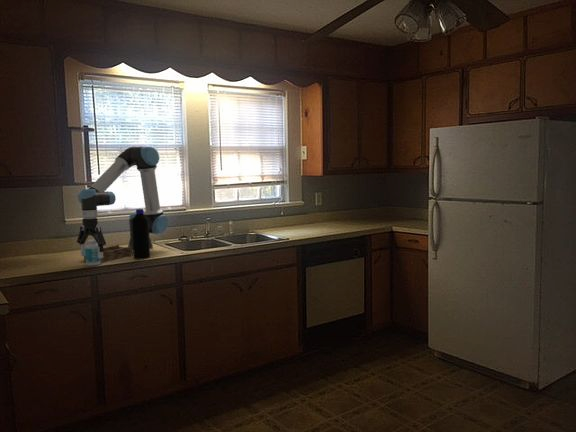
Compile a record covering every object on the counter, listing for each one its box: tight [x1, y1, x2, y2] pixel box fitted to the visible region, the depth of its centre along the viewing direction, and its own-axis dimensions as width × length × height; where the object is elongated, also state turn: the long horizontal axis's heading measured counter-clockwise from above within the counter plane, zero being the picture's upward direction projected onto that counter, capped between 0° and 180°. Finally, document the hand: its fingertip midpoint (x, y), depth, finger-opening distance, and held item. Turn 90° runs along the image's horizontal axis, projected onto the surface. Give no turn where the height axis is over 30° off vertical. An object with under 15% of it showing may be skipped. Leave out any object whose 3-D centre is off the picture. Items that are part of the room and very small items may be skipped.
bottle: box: [132, 208, 151, 260], centre depth 283 cm, size 9×9×28 cm
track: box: [83, 244, 134, 263], centre depth 286 cm, size 24×13×5 cm, turn 151°
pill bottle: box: [85, 239, 102, 267], centre depth 266 cm, size 8×7×14 cm
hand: (92, 257), depth 266 cm, fingers open, 13 cm apart
